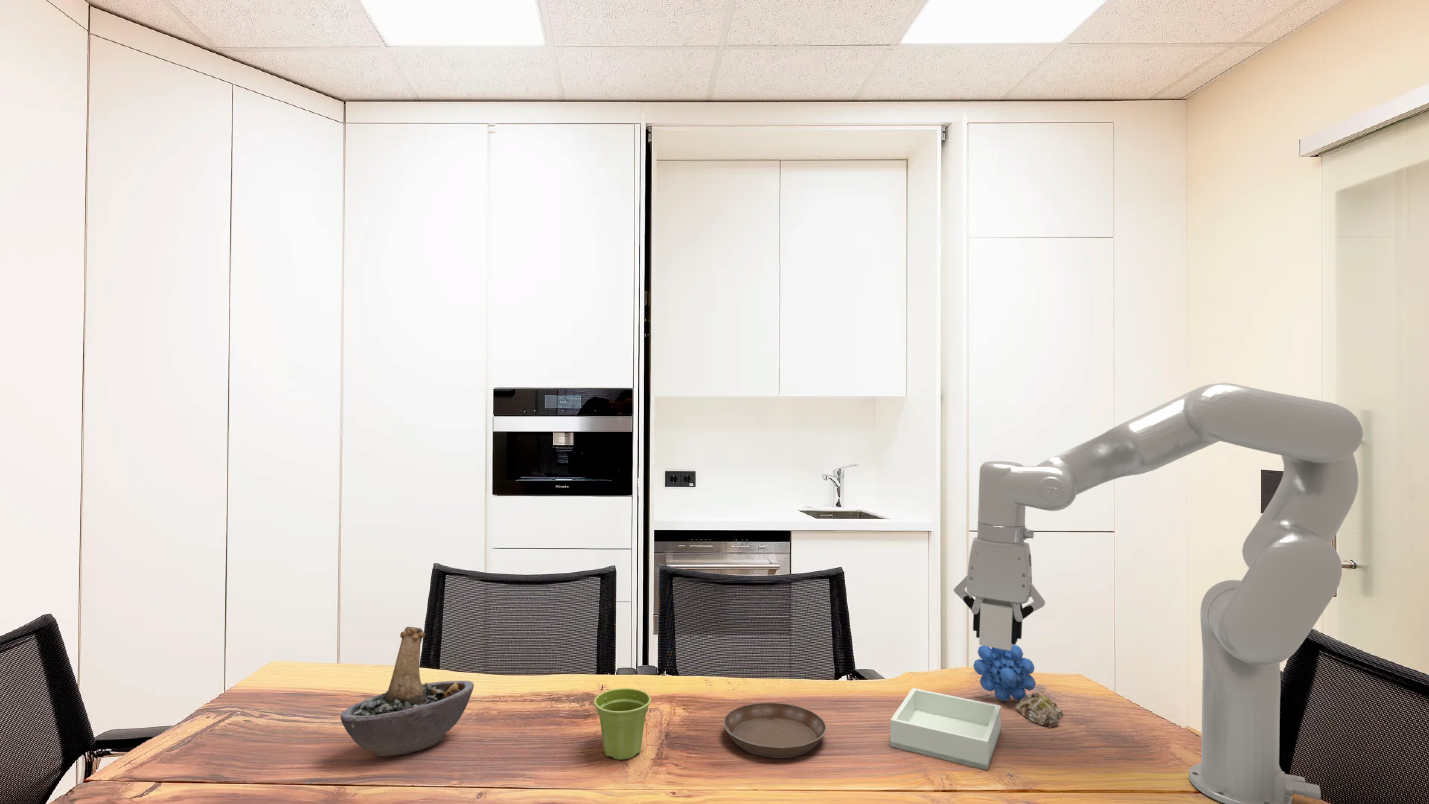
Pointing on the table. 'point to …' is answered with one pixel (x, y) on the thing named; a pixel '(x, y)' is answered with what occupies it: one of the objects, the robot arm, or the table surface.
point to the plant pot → (622, 721)
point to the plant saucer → (774, 729)
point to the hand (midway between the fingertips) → (996, 637)
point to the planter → (407, 707)
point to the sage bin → (946, 727)
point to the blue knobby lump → (1005, 672)
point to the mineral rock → (1039, 710)
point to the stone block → (996, 624)
